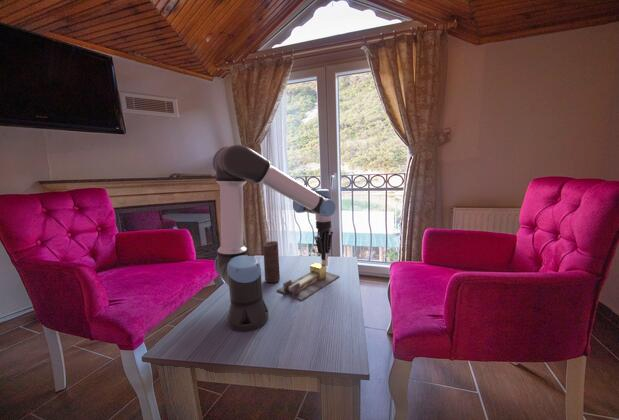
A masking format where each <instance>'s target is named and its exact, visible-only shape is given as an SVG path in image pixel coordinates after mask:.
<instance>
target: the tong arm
mask: <svg viewBox="0 0 619 420" xmlns="http://www.w3.org/2000/svg"><path fill="white" fill-rule="evenodd" d="M317 276H318V272H313V273H312V274H310V275H308V276H307V277H305V278H303V279H302V280H300V281H298V282H297V283H300V287H301V286H303V285H305V284H306V283H308V282H309V281H311V280H312V279H314V278H316V277H317ZM297 283H295V284H297ZM295 284H293V285H295ZM293 285H292V286H293ZM292 286H288V288H287V289H288V290H289V291H292Z"/></svg>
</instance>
